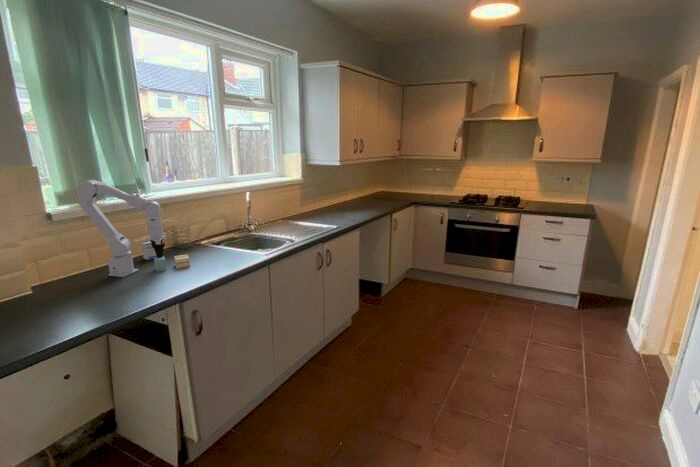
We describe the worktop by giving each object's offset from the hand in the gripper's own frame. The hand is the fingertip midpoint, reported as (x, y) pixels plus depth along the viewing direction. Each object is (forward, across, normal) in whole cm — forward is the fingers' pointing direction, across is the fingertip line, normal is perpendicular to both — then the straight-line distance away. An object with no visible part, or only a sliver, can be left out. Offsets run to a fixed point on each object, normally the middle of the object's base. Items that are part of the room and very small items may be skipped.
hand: (159, 255), depth 175 cm
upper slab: (+5, 0, -9) cm, 11 cm away
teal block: (+7, 0, 0) cm, 7 cm away
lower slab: (+7, 0, -9) cm, 12 cm away
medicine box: (+7, +22, +2) cm, 23 cm away
